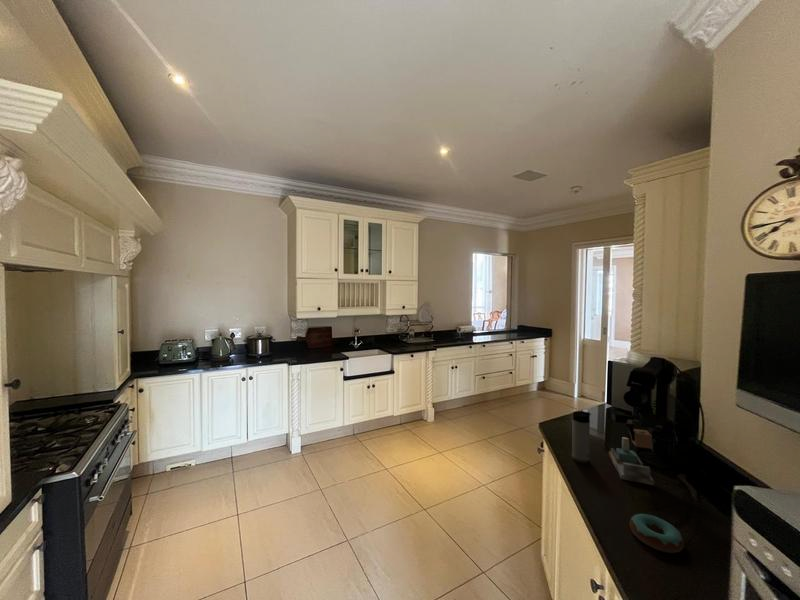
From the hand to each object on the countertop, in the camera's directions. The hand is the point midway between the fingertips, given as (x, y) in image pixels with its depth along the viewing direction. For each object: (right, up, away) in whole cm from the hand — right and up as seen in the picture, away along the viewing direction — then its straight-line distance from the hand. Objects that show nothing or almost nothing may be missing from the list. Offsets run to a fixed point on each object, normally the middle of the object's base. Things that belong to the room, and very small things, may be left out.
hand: (641, 442), depth 120 cm
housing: (0, -1, 0) cm, 1 cm away
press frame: (-2, -12, +3) cm, 13 cm away
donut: (-22, -13, -33) cm, 41 cm away
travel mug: (-18, -12, +10) cm, 24 cm away
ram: (0, -11, +8) cm, 13 cm away
